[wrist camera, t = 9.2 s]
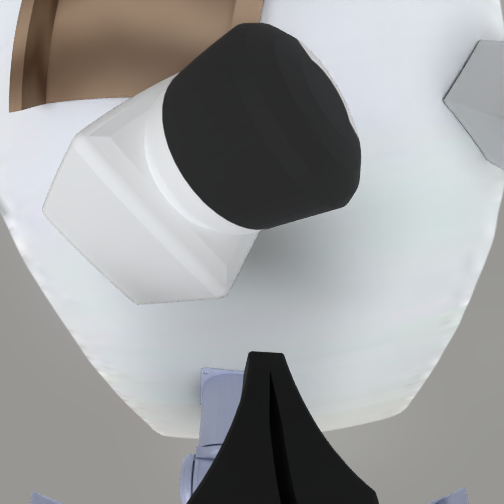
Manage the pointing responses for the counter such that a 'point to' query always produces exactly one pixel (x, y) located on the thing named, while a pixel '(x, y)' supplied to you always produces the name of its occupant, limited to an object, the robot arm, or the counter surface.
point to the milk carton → (482, 99)
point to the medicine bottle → (206, 167)
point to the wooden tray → (112, 45)
